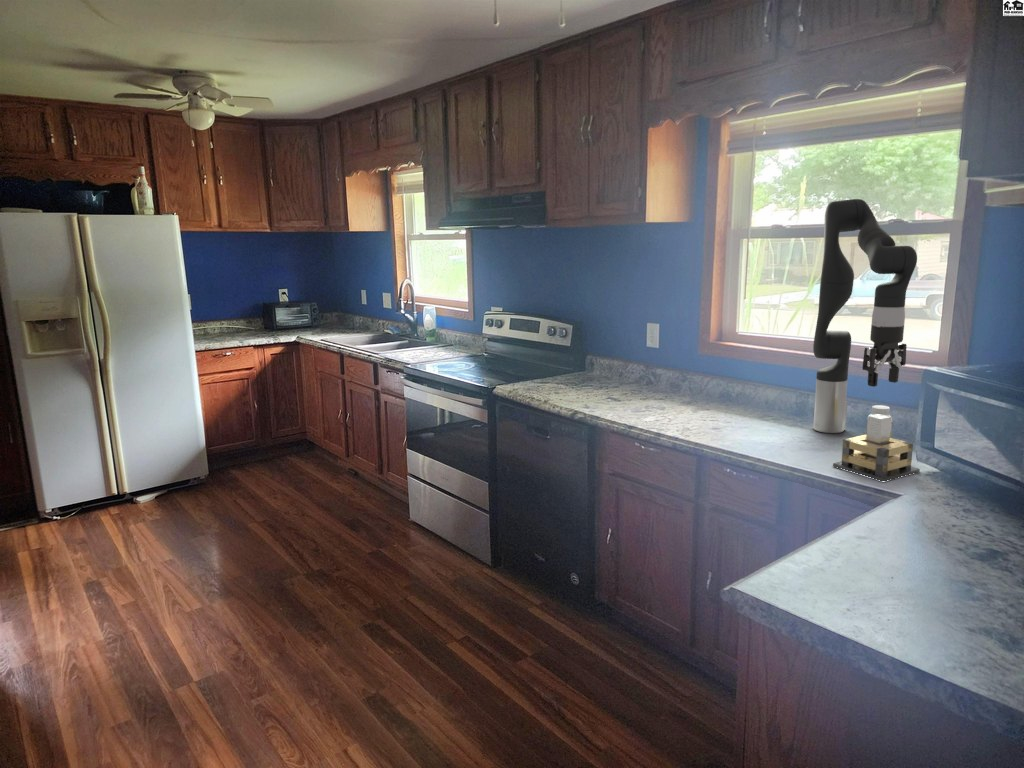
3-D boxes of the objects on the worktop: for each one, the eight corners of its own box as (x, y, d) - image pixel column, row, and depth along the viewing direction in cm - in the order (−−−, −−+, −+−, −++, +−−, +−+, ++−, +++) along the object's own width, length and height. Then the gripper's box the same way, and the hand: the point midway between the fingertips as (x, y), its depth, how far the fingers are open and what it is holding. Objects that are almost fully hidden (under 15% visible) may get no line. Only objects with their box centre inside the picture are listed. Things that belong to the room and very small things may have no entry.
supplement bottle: (859, 446, 201) (862, 405, 199) (876, 443, 204) (879, 403, 201) (878, 452, 195) (882, 410, 193) (895, 449, 198) (898, 407, 195)
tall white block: (873, 462, 184) (877, 413, 181) (887, 466, 180) (892, 417, 177) (864, 465, 182) (867, 415, 179) (878, 469, 178) (882, 419, 175)
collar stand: (868, 457, 191) (870, 431, 189) (919, 472, 178) (922, 443, 176) (832, 466, 184) (834, 439, 183) (883, 482, 171) (885, 453, 170)
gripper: (891, 320, 179) (886, 378, 183) (856, 324, 173) (852, 385, 176) (918, 322, 173) (913, 383, 176) (883, 327, 167) (878, 390, 170)
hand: (882, 384), depth 176 cm, fingers open, 8 cm apart
